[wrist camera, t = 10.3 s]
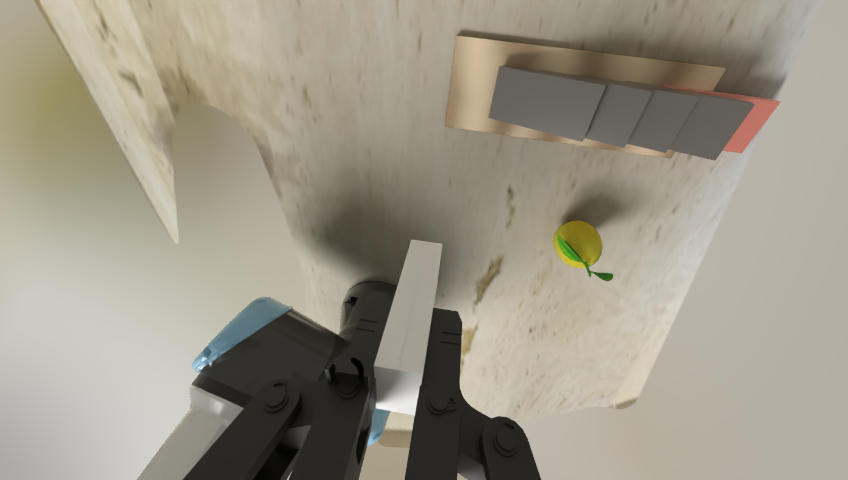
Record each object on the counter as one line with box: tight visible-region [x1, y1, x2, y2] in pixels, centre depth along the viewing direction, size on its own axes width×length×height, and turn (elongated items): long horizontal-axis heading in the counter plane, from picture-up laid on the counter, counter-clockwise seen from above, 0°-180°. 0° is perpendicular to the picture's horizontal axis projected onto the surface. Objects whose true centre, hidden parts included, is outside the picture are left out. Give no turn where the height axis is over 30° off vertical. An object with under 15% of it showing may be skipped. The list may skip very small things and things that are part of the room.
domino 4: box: [627, 81, 755, 160], centre depth 29 cm, size 2×5×10 cm
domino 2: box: [540, 70, 653, 148], centre depth 30 cm, size 2×5×10 cm
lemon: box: [554, 221, 613, 281], centre depth 38 cm, size 7×6×10 cm
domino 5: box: [662, 85, 780, 153], centre depth 31 cm, size 2×5×10 cm
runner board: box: [445, 35, 727, 158], centre depth 33 cm, size 26×9×1 cm, turn 85°
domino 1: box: [488, 65, 608, 142], centre depth 30 cm, size 2×5×10 cm
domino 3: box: [580, 75, 699, 153], centre depth 30 cm, size 2×5×10 cm
